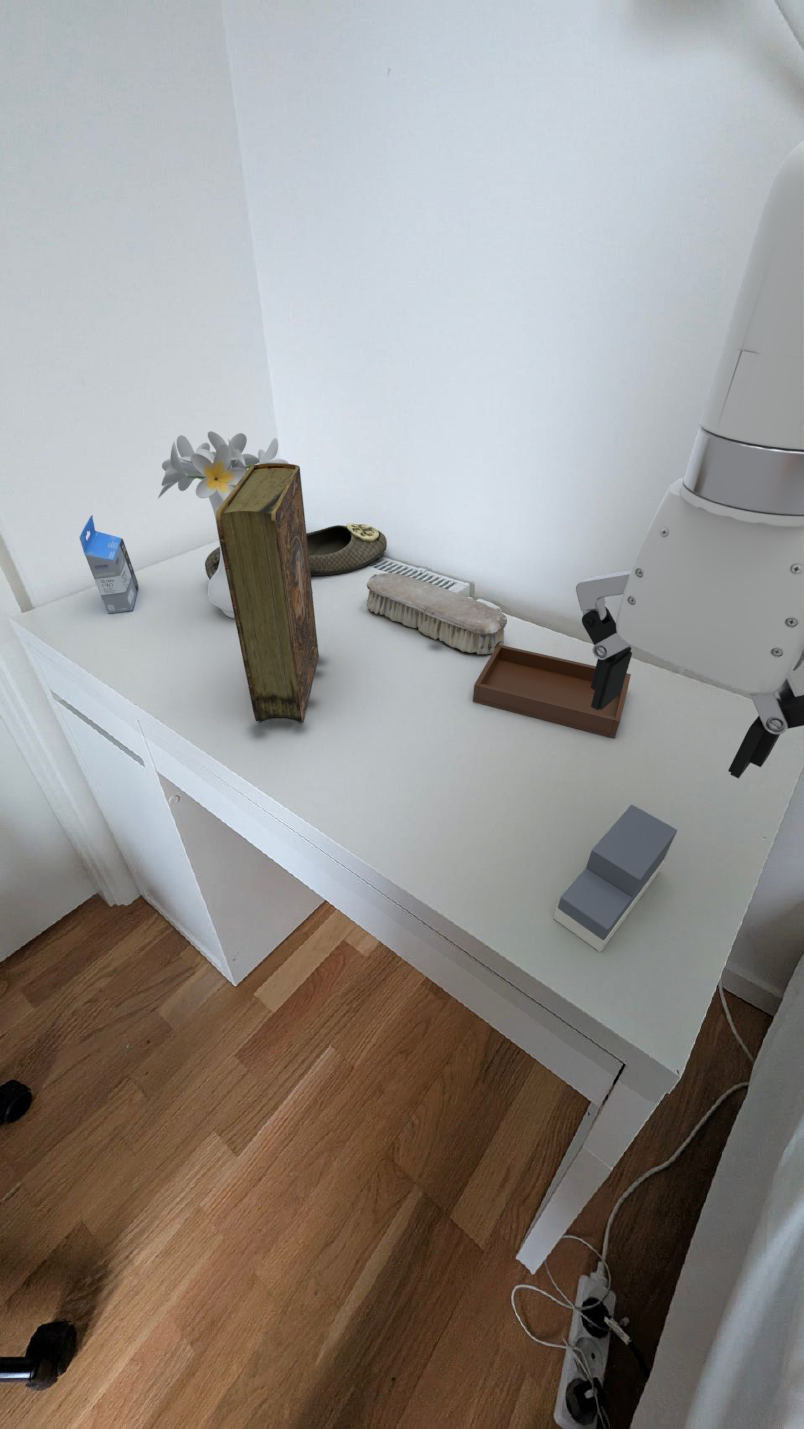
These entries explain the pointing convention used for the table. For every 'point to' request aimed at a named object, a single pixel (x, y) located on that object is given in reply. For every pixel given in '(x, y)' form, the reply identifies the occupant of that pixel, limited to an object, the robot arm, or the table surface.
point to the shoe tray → (547, 690)
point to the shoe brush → (437, 612)
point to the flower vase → (214, 485)
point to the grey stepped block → (615, 877)
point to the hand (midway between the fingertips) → (668, 731)
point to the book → (271, 587)
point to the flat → (332, 549)
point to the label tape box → (110, 568)
